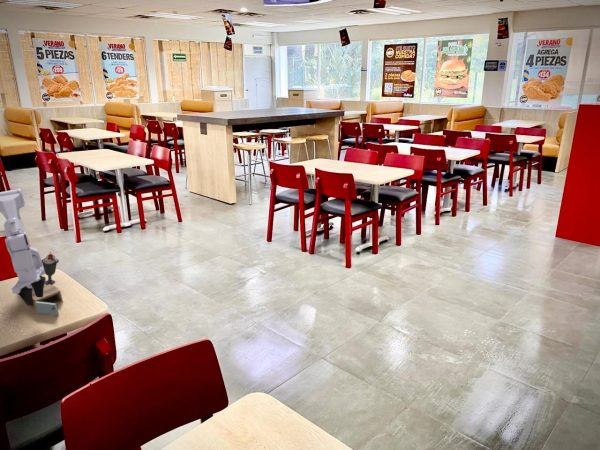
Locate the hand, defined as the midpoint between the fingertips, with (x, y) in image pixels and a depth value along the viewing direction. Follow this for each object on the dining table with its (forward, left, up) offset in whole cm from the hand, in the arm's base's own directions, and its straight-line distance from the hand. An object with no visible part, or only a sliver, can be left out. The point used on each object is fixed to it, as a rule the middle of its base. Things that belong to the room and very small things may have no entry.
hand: (35, 300), depth 162 cm
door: (-2, +3, -8) cm, 9 cm away
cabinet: (-11, +6, -8) cm, 15 cm away
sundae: (-27, +15, -8) cm, 32 cm away
